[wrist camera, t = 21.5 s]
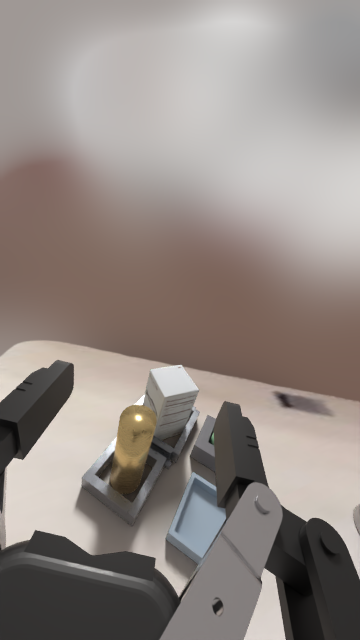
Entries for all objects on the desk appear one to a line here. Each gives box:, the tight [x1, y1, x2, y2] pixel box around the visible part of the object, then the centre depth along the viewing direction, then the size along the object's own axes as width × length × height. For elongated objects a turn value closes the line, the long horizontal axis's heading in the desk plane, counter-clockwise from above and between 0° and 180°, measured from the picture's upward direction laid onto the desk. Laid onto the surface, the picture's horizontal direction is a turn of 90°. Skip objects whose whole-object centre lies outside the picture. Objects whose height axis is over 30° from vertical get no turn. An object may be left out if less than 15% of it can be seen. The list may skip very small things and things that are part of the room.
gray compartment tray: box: [82, 396, 200, 526], centre depth 41 cm, size 12×23×2 cm, turn 155°
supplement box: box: [142, 365, 199, 440], centre depth 43 cm, size 7×7×13 cm
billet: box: [110, 405, 157, 495], centre depth 33 cm, size 5×5×14 cm
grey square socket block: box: [190, 415, 216, 472], centre depth 43 cm, size 8×8×4 cm
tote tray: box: [166, 472, 226, 564], centre depth 32 cm, size 9×9×2 cm
